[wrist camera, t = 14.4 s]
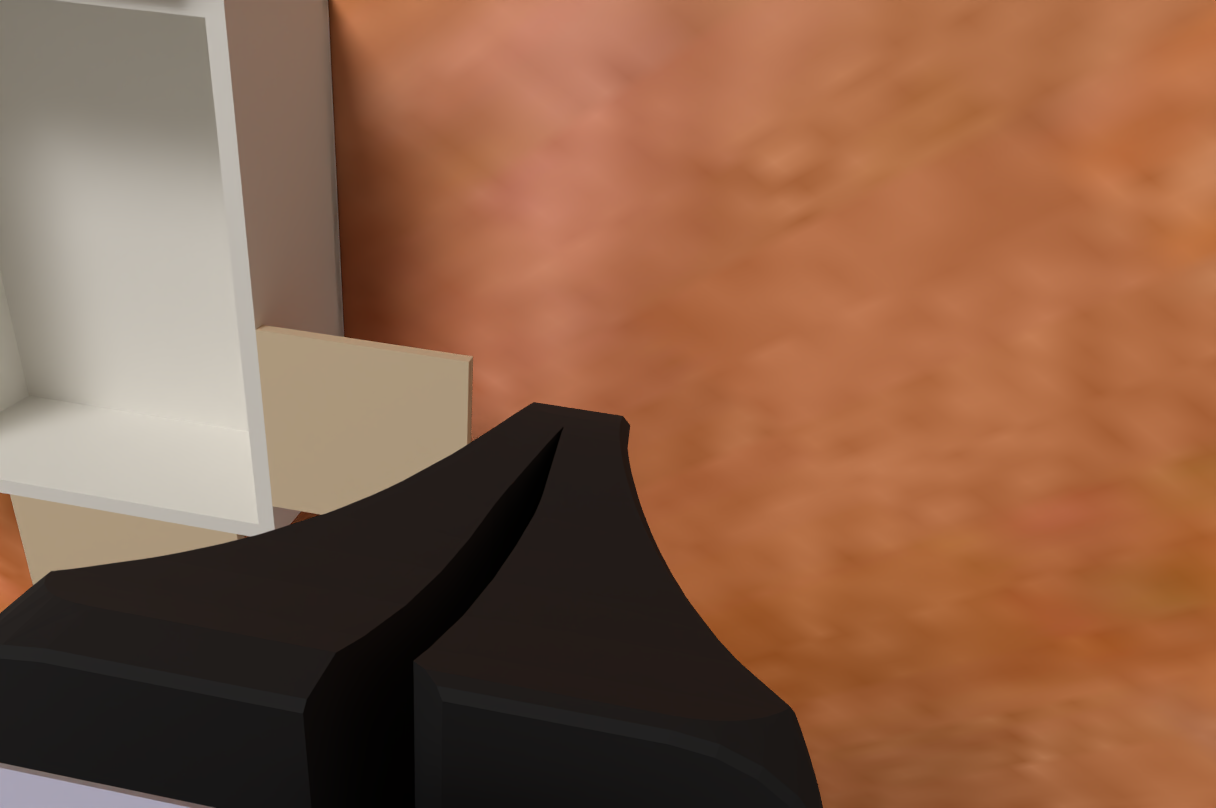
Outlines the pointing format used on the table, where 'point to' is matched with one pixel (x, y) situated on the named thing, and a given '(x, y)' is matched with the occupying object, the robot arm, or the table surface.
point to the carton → (186, 286)
